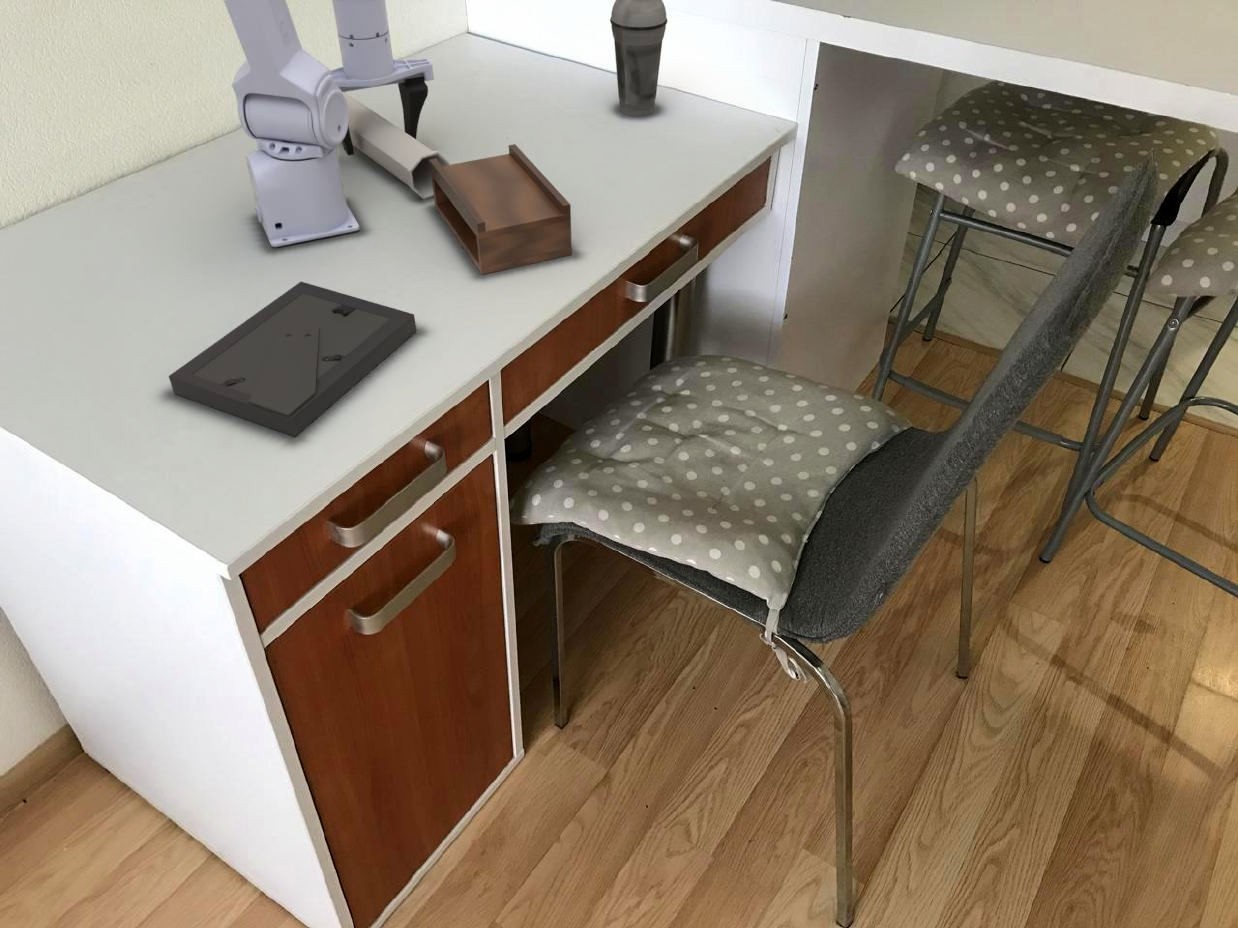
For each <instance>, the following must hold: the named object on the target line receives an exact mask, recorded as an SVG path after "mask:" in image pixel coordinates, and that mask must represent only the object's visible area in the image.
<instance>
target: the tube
mask: <svg viewBox="0 0 1238 928" xmlns="http://www.w3.org/2000/svg"><path fill="white" fill-rule="evenodd" d="M342 93H343V95H344V96H345V98H346V101H347V104H348V109H349V131H350V136H351V140H352V144H353V147H354V148H356V149H357V150H359V151H360V152H361V153H363V154H364V155H366V156H367V157H369V158H370V159H371V160H372V161H374V162H375V163H376V164H378V165H379V166H381V167H382V168H384V169H385V170H386V171H387V172H388V173H390V174H392V175H393V176H395V177H396V178H397V179H398V180H400V181H401V182H403V183H404V184H405V185H406V186H408V187H409V188H410V189H411V190H412V191H413V192H414V193H416V194H417V196H419V197H420V199H422V200H426V199H429V198H434V194H433V185H432V177H431V168H430V160H431V159H437V160H438V161H439V163H440V164H441V165H442V166H446V165H450V162H449V161H448V160H447V159H446V158H445V157H444V156H443V155H442V154H441V153H440V152H439V151H438V150H436V149H435V150H432V149H431V148H429V147H428V146H426V145H425V144H423V143H422V142H420V141H419V140H418V139H417V138H416V139H414V138H413V137H411V136H410V135H408V134H407V133H405V130H402V129H401V128H400V127H398V126H397V125H396V124H394V123H392V122H390V121H389V120H387V119H386V118H385V117H383V116H382V115H380V114H379V113H377V112H376V111H374V110H372V108H370V107H369V106H367V105H365V104H364V103H363V102H361V101H360V100H358V99H356V98H355V97H354V96H352V95H350V94H349V93H347V91H346V92H342Z"/></svg>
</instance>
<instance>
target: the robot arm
mask: <svg viewBox="0 0 1238 928" xmlns="http://www.w3.org/2000/svg"><path fill="white" fill-rule="evenodd" d="M331 1H332V8H333V14H334V19H335V25H336V32H337V38H338V44H339V50H340V57H341V62H342V66H341V67H337V68H335V69H330V68H329V67H328V66H327V65H325V63H323V62H321V60H319V59H317V58H316V57H315V56H313V55H311V54H310V53H309V52H307V51H306V50H305V49H304V48H303V47H302V44H301V42H300V41H301V40H300V38H299V35H298V33H297V30H296V27H295V24H294V21H293V18H292V15H291V12H290V8H289V6H288V3H287V0H223V2H224V5H225V7H226V10H227V12H228V15H229V17H230V20H231V23H232V25H233V28H234V31H235V33H236V36H237V38H238V40H239V41H238V42H239V43H240V46H241V48H242V51H243V53H244V56H245V58H246V60H245V61H243V63H242V64H241V65H240V66H239V68H238V69H237V70H236V72H235V75H234V78H233V81H232V84H231V86H232V87H231V88H232V90H233V92H234V94H235V97H236V104H237V116H238V119H239V122H240V124H241V127H242V129H243V130H244V133H245V134H246V135H247V137H249V138H251V139H253V140H255V141H256V145H257V148H258V150H256V151H253V152H249V153H246V154H245V161H246V166H247V170H248V176H249V180H250V184H251V187H252V191H253V196H254V200H255V204H256V205H255V206H254V207H255V208H254V209H255V212H256V216H257V220H258V222H259V224H261V225H262V228H263V230H264V232H265V234H266V237H267V239H268V242H269V244H270V246H271V247H273V248H278V247H283V246H288V245H293V244H297V243H298V244H299V243H303V242H308V241H313V240H317V239H323V238H328V237H333V236H338V235H343V234H347V233H352V232H357V231H359V230H360V225H359V222H358V221H357V219H356V217H355V216H354V214H353V212H352V210H351V209H350V207H349V205H348V203H347V199H346V198H347V197H346V193H345V188H344V182H343V176H342V171H341V170H342V169H341V164H340V159H339V154H338V147H339V146H340V145H341V144H342V145H343V149H344V151H345V153H346V155H347V156H354V155H355V151H354V146H353V144H352V140H351V136H350V131H349V109H348V104H347V101H346V98H345V96H344V95H343V92H346V93H347V92H352V91H358V90H365V89H371V88H378V87H383V86H389V85H396V84H397V87H398V91H399V95H400V101H401V106H402V115H403V116H402V117H403V124H404V125H403V129H404V132H405V133H407V134H408V135H410V136H411V137H413V138H414V139H416V140H417V133H418V127H419V121H420V117H421V113H422V110H423V107H424V104H425V102H426V100H427V98H428V95H429V87H428V85H427V83H426V82H429V81H434V79H435V78H434V68H433V63H432V62H431V61H430V60H429V59H428V57H427V58H419V59H418V58H417V59H394V57H393V50H392V43H391V35H390V28H389V20H388V13H387V12H388V11H387V4H386V0H331Z"/></svg>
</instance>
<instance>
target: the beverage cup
mask: <svg viewBox="0 0 1238 928" xmlns="http://www.w3.org/2000/svg"><path fill="white" fill-rule="evenodd" d="M610 13H611V15H610V18H609V22H610V24H611V26H610V27H611V32H612V37H613V41H614V42H613V43H614V54H615V55H614V56H615V67H616V82H617V93H618V94H617V95H618V101H619V102H618V103H619V111H620V112H621V113H622V114H623V115H626V116H630V117H645V116H649V115H652V114H653V113H654V110H655V103H656V99H657V91H658V90H657V89H658V83H659V82H658V81H659V73H660V64H661V57H662V56H661V55H662V47H663V41H664V37H665V34H666V33H665V32H666V29H667V24H668V18H667V11H666V7H665V4H664V2H663V0H615V1H614V3H613V5H612V9H611V12H610Z"/></svg>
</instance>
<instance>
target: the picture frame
mask: <svg viewBox="0 0 1238 928" xmlns="http://www.w3.org/2000/svg"><path fill="white" fill-rule="evenodd" d="M416 332H417V325H416V319H415V314H414V313H411V312H407V311H404V310H401V309H398V308H393V307H390V306H387V305H384V304H381V303H377V302H373V301H370V300H367V299H363V298H359V297H356V296H352V295H350V294H345V293H342V292H339V291H335V290H332V289H328V288H326V287H321V286H318V285H315V284H311V283H308V282H304V281H300V282H298V283H296V284H295V285H294V286H293V287H291V288H290V289H288V290H287V291H285V292H284V293H283V294H281V295H280V296H278V297H277V298H276V299H274V300H273V301H272V302H270V303H269V304H267V305H266V306H264V307H263V308H262V309H259V311H258V312H256V313H254V314H253V315H252V316H251V317H249V318H247V319H246V320H245V321H243V322H242V323H241V324H239V325H238V326H236V327H235V328H234V329H232V330H231V331H230V332H228V333H227V334H226V335H224V336H223V337H221V338H219V339H218V340H217V341H216V342H214V343H213V344H211V345H210V346H208V347H207V348H206V349H205V350H203V351H202V352H200V353H199V354H198V355H196V356H195V357H193V358H191V359H190V360H189V361H188V362H186V363H185V364H183V365H182V366H181V367H179V368H177V370H175V371H173V372H172V373H171V374H169V375H168V379H169V382H170V384H171V385H170V386H171V388H172V390H173V391H172V392H173V394H174V395H176V396H179V397H183V398H185V399H187V400H190V401H193V402H196V403H199V404H202V405H205V406H208V407H211V408H213V409H216V410H219V411H221V412H224V413H226V414H230V415H232V416H236V417H238V418H242V419H243V420H244V419H245V420H247V421H249V422H252V423H255V424H258V425H260V426H264V427H267V428H269V429H271V430H275V431H278V432H279V433H283V434H286V435H289V436H292V437H294V438H295V437H297V436H298V435H299V434H300V433H301V432H302V431H303V430H304V429H306V428H307V427H308V426H309V425H310V424H311V423H313V422H314V421H315V420H316V419H317V418H319V416H320V415H322V414H323V413H324V412H325V411H327V409H329V408H330V407H331V406H332V405H333V404H335V403H336V402H337V401H338V400H339V399H341V398H342V396H344V395H345V394H346V393H347V392H348V391H350V390H351V389H352V388H353V387H354V386H355V385H356V384H357V383H358V382H360V381H361V380H362V379H363V378H364V377H365V376H367V375H368V374H369V373H370V372H371V371H372V370H374V369H375V368H376V367H377V366H378V365H379V364H381V362H383V361H384V360H385V359H386V358H387V357H388V356H389V355H391V354H392V353H393V352H394V351H395V350H397V348H399V347H400V346H401V345H403V343H404V342H406V341H407V340H408V339H409V338H410V337H411V336H413V335H414V334H415V333H416Z"/></svg>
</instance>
